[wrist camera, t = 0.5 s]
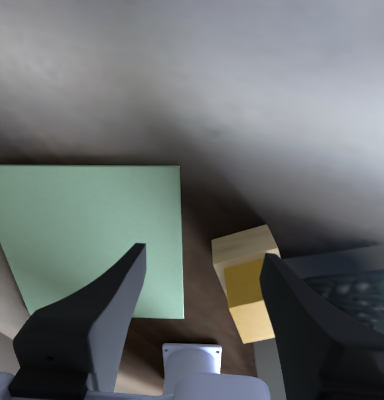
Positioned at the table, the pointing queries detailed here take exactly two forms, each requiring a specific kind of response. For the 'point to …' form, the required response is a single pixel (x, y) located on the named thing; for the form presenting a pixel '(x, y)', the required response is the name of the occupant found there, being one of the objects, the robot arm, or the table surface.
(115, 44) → the table surface
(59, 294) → the sage mat
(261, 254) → the birch block
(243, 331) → the mustard cube
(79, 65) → the table surface
